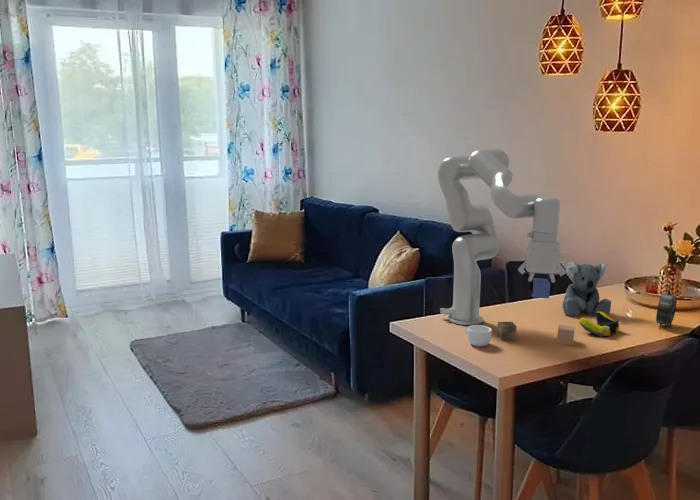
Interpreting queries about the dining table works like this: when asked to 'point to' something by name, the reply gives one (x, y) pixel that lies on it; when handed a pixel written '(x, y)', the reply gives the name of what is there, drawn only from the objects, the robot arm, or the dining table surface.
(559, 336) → the beige cube
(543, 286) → the blue cube
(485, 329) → the teacup
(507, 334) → the walnut block
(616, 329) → the yellow black angled piece
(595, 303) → the koala plush
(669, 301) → the alarm clock
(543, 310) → the dining table surface
